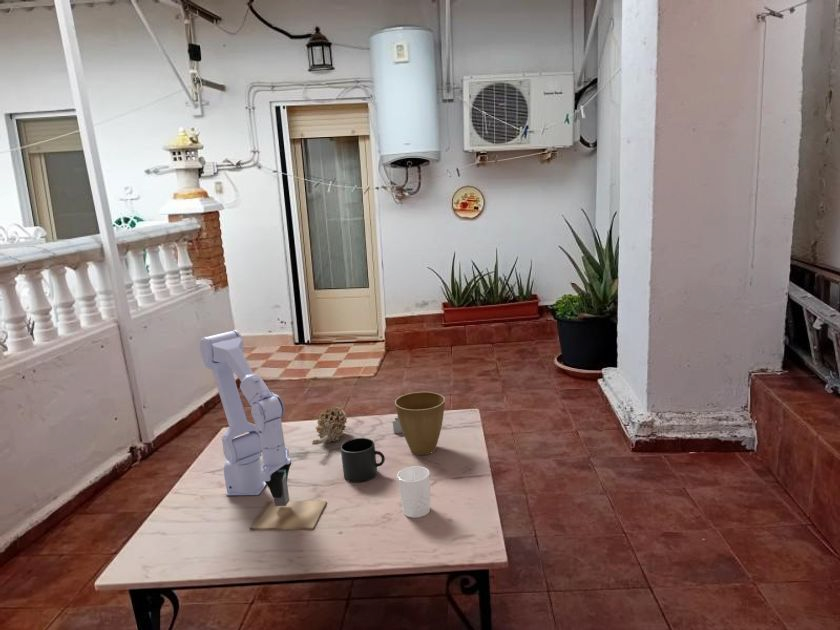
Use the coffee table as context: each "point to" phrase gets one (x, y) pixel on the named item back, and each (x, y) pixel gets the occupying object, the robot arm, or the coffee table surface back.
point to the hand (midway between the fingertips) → (279, 493)
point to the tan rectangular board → (288, 515)
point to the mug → (360, 459)
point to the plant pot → (421, 420)
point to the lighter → (397, 426)
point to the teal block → (283, 492)
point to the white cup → (414, 491)
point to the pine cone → (330, 425)
